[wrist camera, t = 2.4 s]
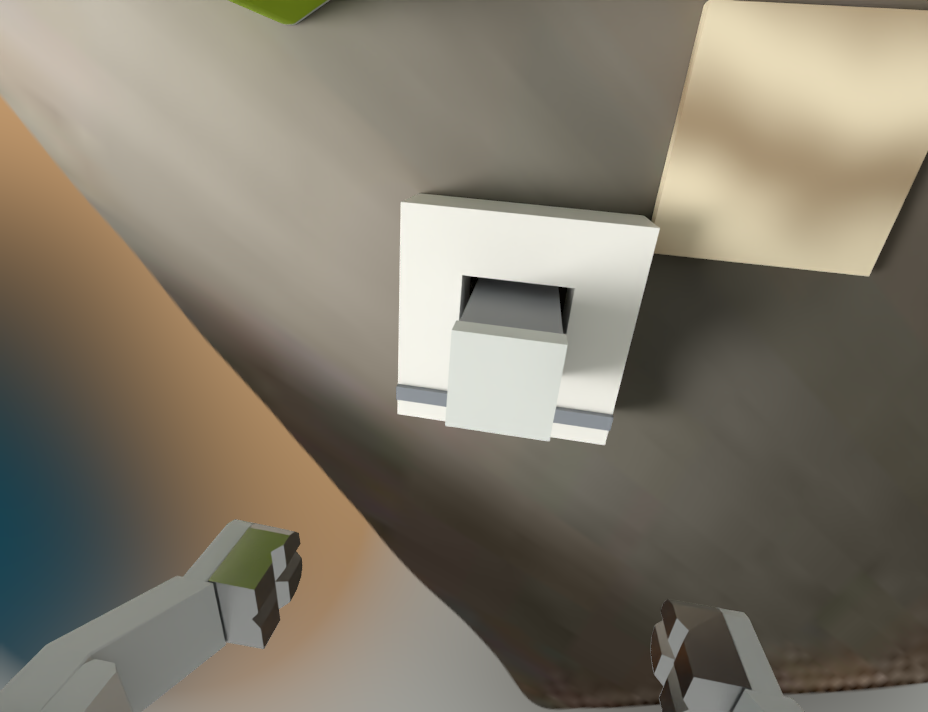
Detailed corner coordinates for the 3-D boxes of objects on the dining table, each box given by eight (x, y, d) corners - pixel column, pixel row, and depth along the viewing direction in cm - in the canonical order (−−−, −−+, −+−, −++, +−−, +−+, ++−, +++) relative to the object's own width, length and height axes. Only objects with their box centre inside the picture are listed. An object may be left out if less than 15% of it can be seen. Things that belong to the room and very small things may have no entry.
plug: (480, 267, 25) (451, 329, 17) (559, 276, 25) (567, 345, 17) (474, 339, 27) (444, 425, 19) (547, 348, 26) (549, 441, 18)
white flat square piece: (419, 193, 24) (399, 202, 20) (643, 215, 23) (661, 229, 19) (413, 383, 29) (396, 416, 25) (597, 410, 28) (605, 448, 24)
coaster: (704, 4, 19) (710, -1, 18) (974, 18, 18) (992, 13, 17) (644, 249, 23) (647, 252, 23) (858, 271, 22) (868, 276, 22)
